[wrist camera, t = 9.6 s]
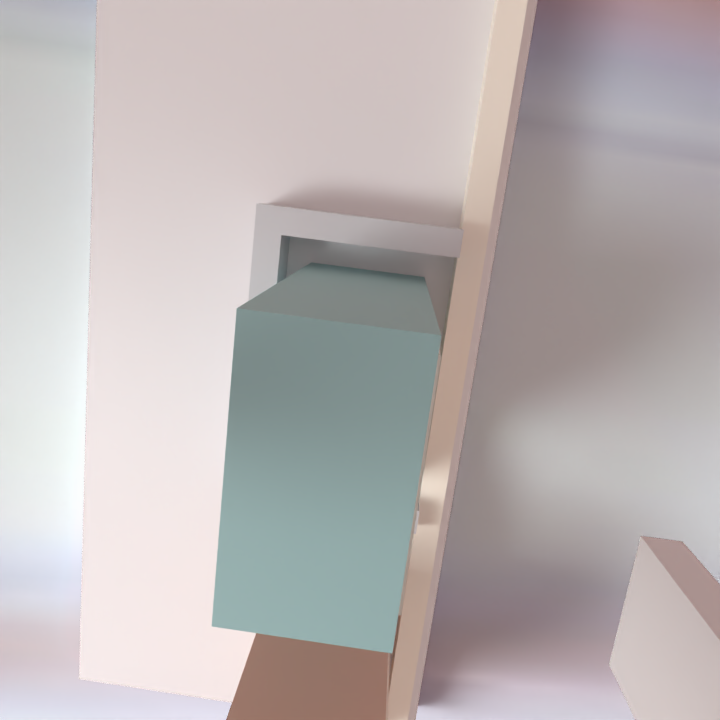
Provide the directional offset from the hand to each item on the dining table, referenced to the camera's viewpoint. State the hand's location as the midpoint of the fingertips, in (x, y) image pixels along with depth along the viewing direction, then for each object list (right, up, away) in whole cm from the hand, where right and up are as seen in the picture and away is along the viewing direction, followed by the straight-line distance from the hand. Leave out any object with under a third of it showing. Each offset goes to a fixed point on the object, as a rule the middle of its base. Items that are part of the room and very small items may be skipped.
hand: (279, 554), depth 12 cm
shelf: (-2, +5, +16) cm, 17 cm away
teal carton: (+1, +3, +15) cm, 15 cm away
